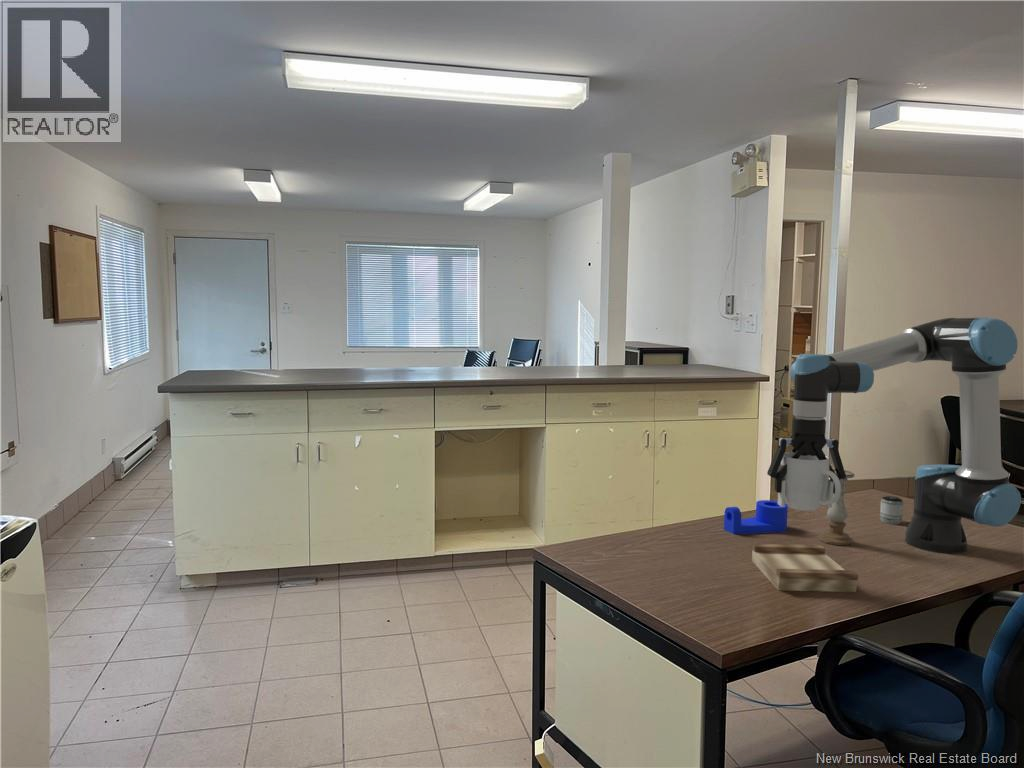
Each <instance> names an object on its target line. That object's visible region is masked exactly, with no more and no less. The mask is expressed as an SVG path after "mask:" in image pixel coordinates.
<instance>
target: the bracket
mask: <svg viewBox="0 0 1024 768" xmlns="http://www.w3.org/2000/svg"><path fill="white" fill-rule="evenodd" d="M788 509H789V506H788V504H787V503H785V506H784V507H781V506H780V505H778V500H772V499H771V500H770V499H769V500H768V499H767V500H766V499H764V500H763V499H762V500H761V499H760V500H758V501H756V503H755V517H748V518H742V513H741V509H740V508H739V507H738V506H727V507H726V508H725V510H724V520H723V521H724V522H723V530H725V531H726V532H728V533H730V534H732V535H740V534H741V535H742V534H744V535H745V534H765V532H771V533H783V532H786V531H787V530H788V512H789V511H788Z"/></svg>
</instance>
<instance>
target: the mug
mask: <svg viewBox="0 0 1024 768" xmlns="http://www.w3.org/2000/svg"><path fill="white" fill-rule="evenodd" d="M789 454H790V452H789V451H788V452H787V451H786V452H785V453H784V456H783V458H782V461H781V463H780V466H781V465H786V464H787V473H786V475H785V476H784V478H783V479H784V480H785V481H786V486H785V504H787V505H788V508H790V509H792V510H797V511H801V512H813V511H817V510H819V508H820V507H821V506H822V505H824V506H826V505H828V504H832V503H835V502H836V501H837V500H838V499H839V497H840V494H841V484H840V481H839V478H838V477H837V475H836V474H835V473H833V472H832V471H829V463H830V457H829V456H827V455H825V457H826V458H827V459H826V460H818V458H817V457H816V456H811V455H807V456H802V455H801V456H800V457H799V458H798V459H793V458H788V456H789ZM829 476H830V477H831V478H832V479H833V481H834V484H835V494H834V497H833V498H832V499H831V500H829V501H825V495H826V492H827V487H828V481H829V479H830V478H829Z"/></svg>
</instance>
